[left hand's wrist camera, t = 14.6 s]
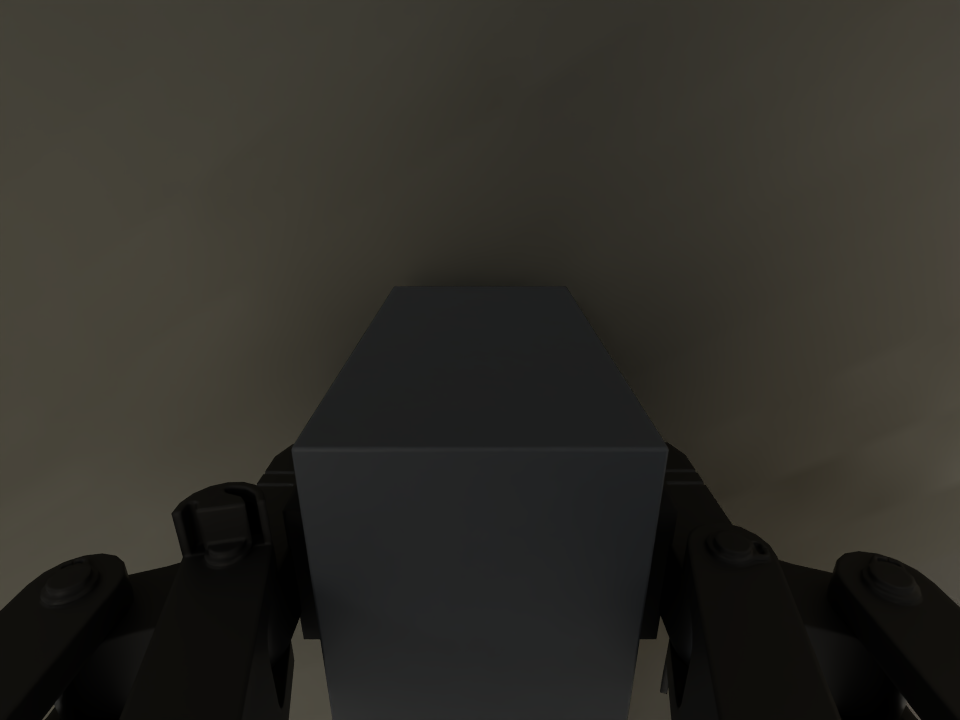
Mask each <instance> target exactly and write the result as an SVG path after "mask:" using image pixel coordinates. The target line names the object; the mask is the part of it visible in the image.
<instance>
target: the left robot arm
mask: <svg viewBox="0 0 960 720" xmlns="http://www.w3.org/2000/svg"><path fill="white" fill-rule="evenodd" d="M665 444H666V445H667V447H668V450H669V451H668V457H667V464H666V470H665V477H664V483H663V490H662V496H661V503H660V509H659V516H658V523H657V529H656V536H655V542H654V549H653V555H652V562H651V568H650V575H649V581H648V588H647V594H646V601H645V607H644V614H643V621H642V627H641V634H640V639H656V638H657V632H658V626H659V620H660V615H661V617H662V620H663V623H664V625H665V628H666V630H667V633H668V635H669V644H668V649H667V655H666V660H665V666H664V671H663V676H662V682H661V689H660V692H661V693H666V694H667V690H668V688H669V699H670V709H671V719H672V720H918V719H917V718H916V717H915V716H914V715H913V713H912V712H911V711H910V710H909V708H908V707H907V706H906V704H907V702H908V703H909V705H910V706H911V707H912V708H913V710H914V711H915V712H916V714H917V715H918V716H919V717H920V719H921V720H960V607H959V606H958V605H957V604H956V603H955V602H954V601H952V600H951V599H950V598H949V597H948V596H947V595H946V594H945V593H944V592H943V591H942V590H941V589H940V588H939V587H938V586H937V585H936V584H935V583H933V582H932V581H931V580H929V579H928V578H927V577H925V576H924V575H923V574H922V573H920V572H919V571H918V570H916V569H914V568H912V567H910V566H908V565H906V564H904V563H902V562H900V561H898V560H895V559H893V558H890V557H886V556H883V555H880V554H877V553H868V552H860V551H857V552H851V553H845V554H844V555H842V556H841V557H840V558H839V559H838V560H837V561H836V564H835V568H834V571H833V573H830V572H826V571H821V570H817V569H812V568H808V567H803V566H799V565H794V564H791V563H787V562H784V561H780V560H778V558H777V556H776V554H775V553H774V551H773V550H772V548H771V547H770V545H769V544H767V543H766V542H765V541H764V540H762V539H761V538H760V537H759V536H757V535H756V534H754V533H752V532H750V531H748V530H745V529H743V528H741V527H738V526H734V525H732V524H731V522H730V521H729V519H728V518H727V516H726V515H725V513H724V512H723V510H722V509H721V507H720V506H719V504H718V503H717V501H716V500H715V498H714V497H713V495H712V494H711V492H710V491H709V489H708V488H707V486H706V485H704V484H703V481H702V479H701V478H700V476H699V475H698V473H695V469H694V467H693V466H692V464H691V463H690V461H689V460H688V458H687V457H686V455H685V454H683V453H682V452H680V451H679V450H677V449H676V448H675V447H673V446H672V445H670V444H669V443H665ZM293 445H294V444H292V445H291V446H290V447H288V448H287V449H285V450H284V451H282V452H281V453H280V454H278V455H277V456H275V458H274V459H273V461H272V462H271V464H270V465H269V467H268V468H267V470H266V471H265V474H263V476H262V477H261V479H260V480H259V482H258V483H257V485H253V484H249V483H245V482H227V483H223V484H218V485H214V486H210V487H208V488H205V489H203V490H200V491H198V492H196V493H193V494H192V495H191V496H189V497H188V498H186V499H185V500H183V501H182V502H181V503H179V505H178V506H177V507H176V509H175V510H174V511H173V512H172V517H173V521H174V525H175V529H176V533H177V536H178V540H179V544H180V548H181V551H182V555H183V558H182V561H181V563H177V564H174V565H170V566H167V567H162V568H158V569H153V570H149V571H144V572H140V573H135V574H131V575H128V573H127V570H126V567H125V564H124V562H123V561H122V560H121V559H119V558H118V557H117V556H114V555H108V554H94V555H86V556H82V557H79V558H75V559H72V560H69V561H66V562H63V563H61V564H60V565H58V566H56V567H54V568H52V569H50V570H48V571H46V572H44V573H43V574H41V575H40V576H39V577H37V578H36V579H35V580H33V581H32V582H31V583H30V584H28V585H27V586H26V587H25V588H24V589H23V590H22V591H21V592H20V593H19V594H18V595H16V596H15V597H14V598H13V599H12V600H11V601H10V602H9V603H8V604H7V605H6V606H5V607H4V608H3V609H2V610H1V611H0V720H42V719H43V718H44V716H45V715H46V714H47V713H48V711H49V710H50V709H51V707H52V706H53V705H55V708H54V709H53V710H52V712H51V713H50V714H49V715H48V717H47V718H46V719H45V720H289V710H290V700H291V689H292V679H293V669H294V656H293V649H292V644H291V639H292V636H293V633H294V631H295V628H296V626H297V623H298V620H299V618H300V619H301V625H302V631H303V637H304V639H320V634H319V627H318V621H317V614H316V607H315V601H314V594H313V588H312V581H311V575H310V568H309V562H308V555H307V549H306V542H305V535H304V529H303V522H302V516H301V509H300V503H299V496H298V490H297V483H296V477H295V470H294V463H293V457H292V447H293Z"/></svg>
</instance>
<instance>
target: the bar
mask: <svg viewBox="0 0 960 720" xmlns="http://www.w3.org/2000/svg"><path fill="white" fill-rule="evenodd" d="M668 451H669V450H668V447H667V445H666V444H665V442H664V441H663V439H662V437H661V436H660V434H659V433H658V431H657V429H656V428H655V426H654V425H653V423H652V422H651V420H650V418H649V417H648V415H647V414H646V412H645V411H644V409H643V407H642V406H641V404H640V403H639V401H638V399H637V398H636V396H635V395H634V393H633V392H632V390H631V388H630V387H629V385H628V384H627V382H626V380H625V379H624V377H623V376H622V374H621V373H620V371H619V369H618V368H617V366H616V365H615V363H614V362H613V360H612V358H611V357H610V355H609V354H608V352H607V350H606V349H605V347H604V346H603V344H602V343H601V341H600V339H599V338H598V336H597V335H596V333H595V331H594V330H593V328H592V327H591V325H590V324H589V322H588V320H587V319H586V317H585V316H584V314H583V313H582V311H581V309H580V308H579V306H578V305H577V303H576V301H575V300H574V298H573V297H572V295H571V294H570V292H569V290H568V289H567V287H518V286H395V287H394V288H393V289H392V291H391V293H390V294H389V296H388V297H387V299H386V300H385V302H384V304H383V305H382V307H381V308H380V310H379V311H378V313H377V315H376V316H375V318H374V319H373V321H372V322H371V324H370V326H369V327H368V329H367V330H366V332H365V333H364V335H363V337H362V338H361V340H360V341H359V343H358V344H357V346H356V348H355V349H354V351H353V352H352V354H351V355H350V357H349V359H348V360H347V362H346V363H345V365H344V366H343V368H342V370H341V371H340V373H339V374H338V376H337V377H336V379H335V381H334V382H333V384H332V385H331V387H330V389H329V390H328V392H327V393H326V395H325V396H324V398H323V400H322V401H321V403H320V404H319V406H318V407H317V409H316V411H315V412H314V414H313V415H312V417H311V418H310V420H309V422H308V423H307V425H306V426H305V428H304V429H303V431H302V433H301V434H300V436H299V437H298V439H297V440H296V442H295V444H294V445H293V447H292V457H293V463H294V470H295V477H296V483H297V490H298V496H299V503H300V509H301V516H302V522H303V529H304V535H305V542H306V549H307V555H308V562H309V568H310V575H311V581H312V588H313V594H314V601H315V607H316V614H317V621H318V627H319V634H320V640H321V647H322V653H323V660H324V666H325V673H326V679H327V686H328V692H329V699H330V706H331V712H332V719H333V720H627V719H628V712H629V705H630V699H631V692H632V686H633V679H634V673H635V666H636V660H637V653H638V647H639V640H640V634H641V627H642V621H643V614H644V607H645V601H646V594H647V588H648V581H649V575H650V568H651V562H652V555H653V549H654V542H655V536H656V529H657V523H658V516H659V509H660V503H661V496H662V490H663V483H664V477H665V470H666V464H667V457H668Z"/></svg>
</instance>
